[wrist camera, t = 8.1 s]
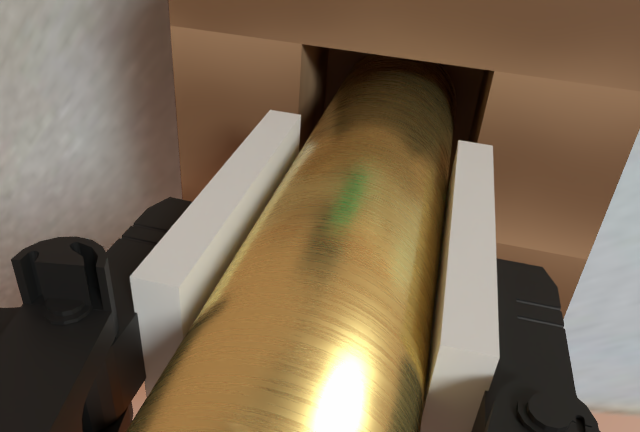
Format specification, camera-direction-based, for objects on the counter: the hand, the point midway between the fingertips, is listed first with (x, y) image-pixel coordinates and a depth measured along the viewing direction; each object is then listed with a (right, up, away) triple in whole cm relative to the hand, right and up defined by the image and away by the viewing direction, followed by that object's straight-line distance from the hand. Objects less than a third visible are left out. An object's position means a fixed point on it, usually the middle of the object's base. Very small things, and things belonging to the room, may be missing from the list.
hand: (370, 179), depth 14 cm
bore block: (+2, +5, +8) cm, 9 cm away
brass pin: (+1, +3, +4) cm, 5 cm away
